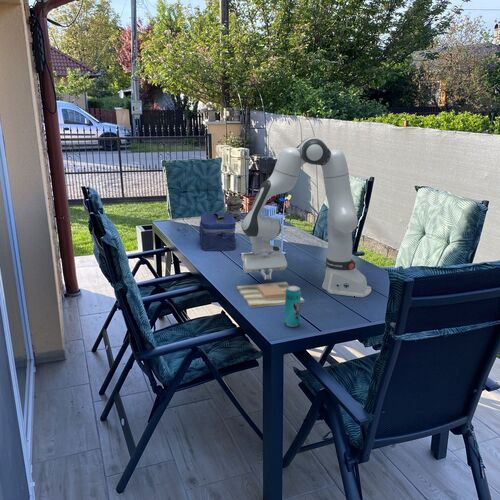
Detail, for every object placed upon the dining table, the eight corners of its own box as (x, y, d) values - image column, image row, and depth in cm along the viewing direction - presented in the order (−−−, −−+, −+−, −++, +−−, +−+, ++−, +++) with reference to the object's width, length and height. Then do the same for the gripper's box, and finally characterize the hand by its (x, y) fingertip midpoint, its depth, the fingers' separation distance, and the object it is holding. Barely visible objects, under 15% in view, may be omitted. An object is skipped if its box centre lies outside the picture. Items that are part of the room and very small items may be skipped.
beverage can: (293, 329, 184) (294, 291, 180) (281, 324, 188) (282, 288, 184) (302, 324, 188) (303, 287, 184) (290, 320, 192) (291, 284, 188)
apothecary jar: (237, 222, 357) (237, 198, 352) (222, 221, 361) (222, 197, 356) (243, 219, 368) (244, 195, 363) (229, 218, 372) (229, 194, 367)
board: (236, 288, 225) (236, 285, 225) (285, 284, 232) (285, 281, 231) (250, 308, 203) (250, 305, 203) (304, 302, 209) (304, 300, 209)
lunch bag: (238, 252, 283) (238, 217, 277) (202, 253, 279) (201, 218, 274) (231, 238, 312) (231, 207, 307) (198, 240, 309) (197, 208, 303)
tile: (275, 283, 222) (285, 293, 210) (275, 288, 222) (285, 298, 210) (256, 285, 219) (265, 295, 207) (256, 290, 220) (265, 300, 208)
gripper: (241, 250, 219) (247, 277, 212) (284, 247, 224) (291, 274, 218) (239, 257, 224) (244, 284, 218) (281, 254, 229) (287, 280, 223)
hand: (268, 279), depth 218 cm, fingers closed
